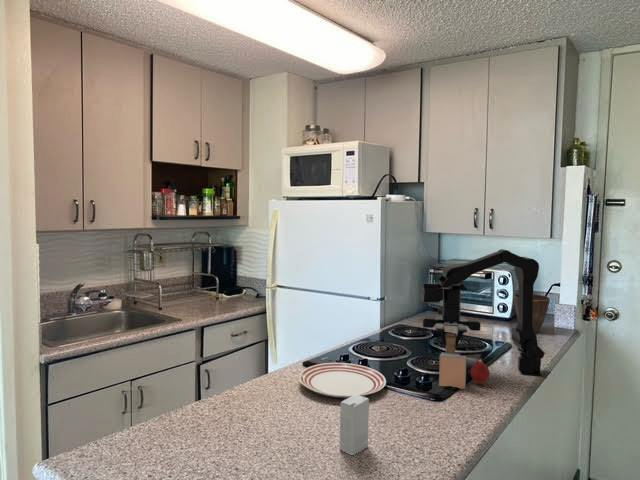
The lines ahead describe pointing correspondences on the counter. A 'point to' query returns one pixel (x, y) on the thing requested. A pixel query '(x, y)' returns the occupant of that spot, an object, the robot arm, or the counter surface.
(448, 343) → the turner
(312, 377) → the dinner plate
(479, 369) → the onion
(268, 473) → the counter surface
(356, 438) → the skincare box
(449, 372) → the tile
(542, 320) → the plant pot
